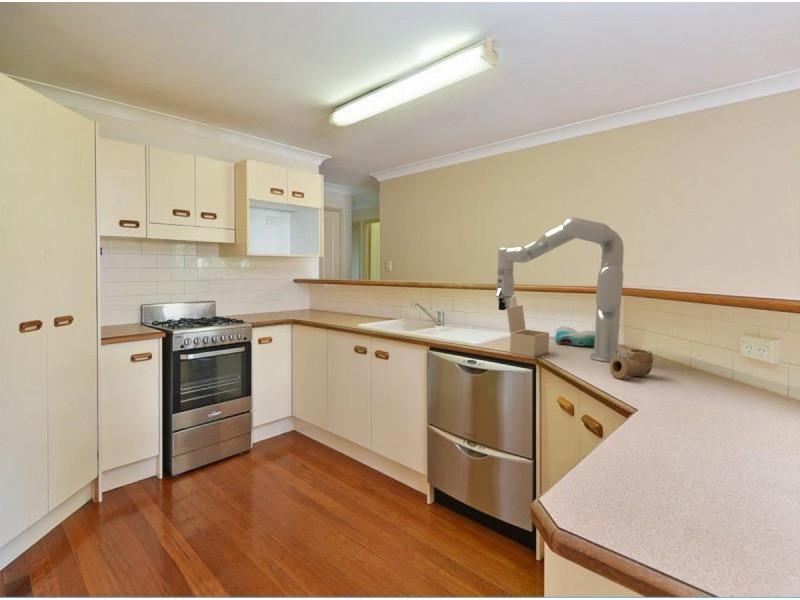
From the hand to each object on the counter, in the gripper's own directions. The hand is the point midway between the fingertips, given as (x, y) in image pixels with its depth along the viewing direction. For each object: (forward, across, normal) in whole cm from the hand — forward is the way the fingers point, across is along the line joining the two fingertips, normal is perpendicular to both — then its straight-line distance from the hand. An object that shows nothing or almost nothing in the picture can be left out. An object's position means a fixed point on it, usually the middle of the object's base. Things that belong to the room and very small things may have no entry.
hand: (504, 309), depth 203 cm
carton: (+20, 0, -14) cm, 24 cm away
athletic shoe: (+20, +36, -25) cm, 48 cm away
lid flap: (+2, 0, -7) cm, 7 cm away
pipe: (+20, -10, -61) cm, 65 cm away
